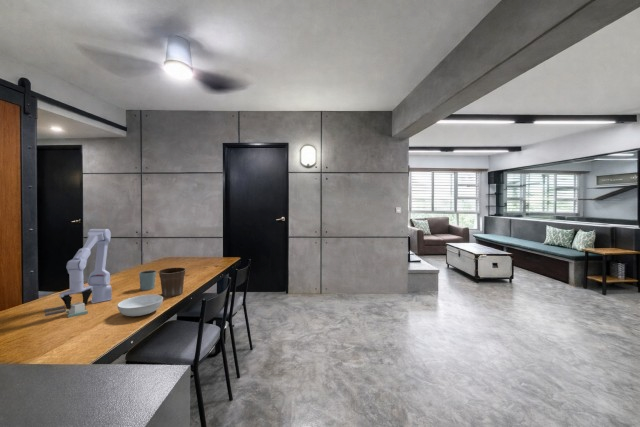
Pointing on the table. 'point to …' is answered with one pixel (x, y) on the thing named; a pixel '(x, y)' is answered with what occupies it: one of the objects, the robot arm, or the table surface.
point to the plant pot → (172, 281)
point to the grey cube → (77, 308)
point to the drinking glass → (147, 280)
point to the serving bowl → (140, 305)
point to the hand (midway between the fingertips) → (77, 306)
